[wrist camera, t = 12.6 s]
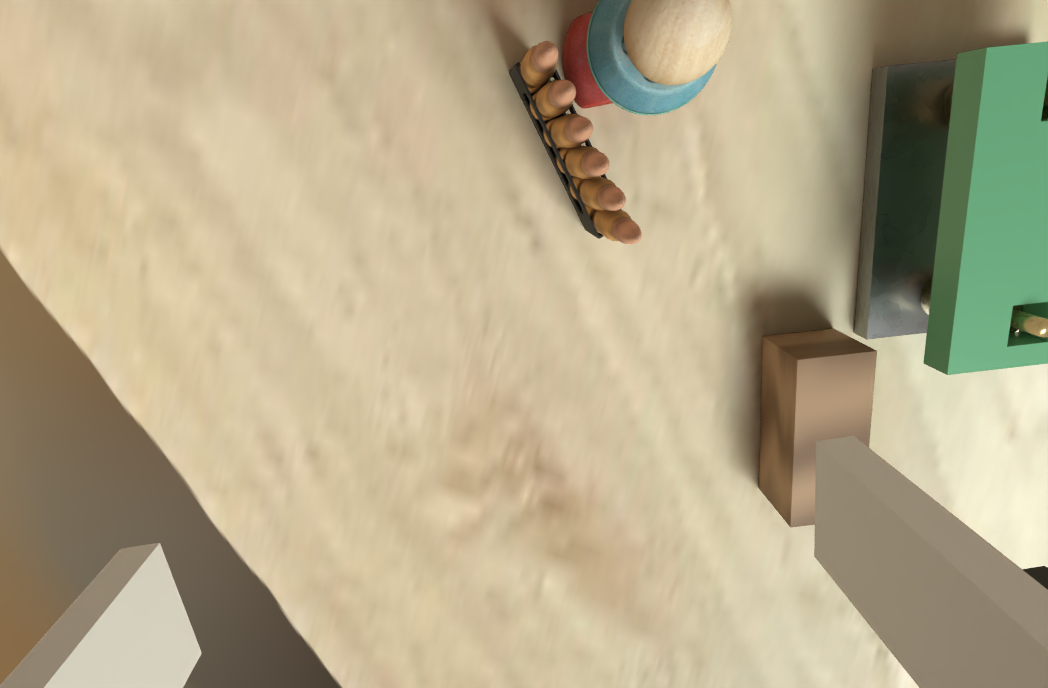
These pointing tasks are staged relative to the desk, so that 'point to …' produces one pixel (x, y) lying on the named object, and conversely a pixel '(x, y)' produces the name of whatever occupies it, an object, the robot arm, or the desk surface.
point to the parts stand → (809, 411)
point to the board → (992, 214)
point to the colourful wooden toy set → (645, 52)
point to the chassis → (908, 200)
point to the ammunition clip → (572, 145)
